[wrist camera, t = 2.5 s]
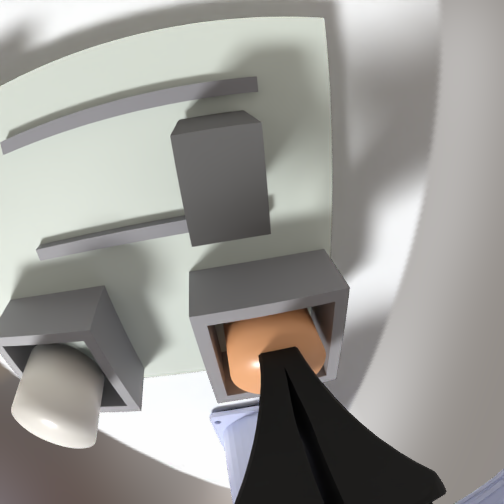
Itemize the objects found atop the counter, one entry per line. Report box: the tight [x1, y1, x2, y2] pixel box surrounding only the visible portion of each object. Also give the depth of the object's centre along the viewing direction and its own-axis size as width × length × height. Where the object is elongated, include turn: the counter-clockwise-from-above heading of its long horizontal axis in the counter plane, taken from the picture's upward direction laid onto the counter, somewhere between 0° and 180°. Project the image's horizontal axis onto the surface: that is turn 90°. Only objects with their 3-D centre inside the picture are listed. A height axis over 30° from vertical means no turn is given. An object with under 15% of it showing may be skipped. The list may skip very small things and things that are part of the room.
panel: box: [0, 17, 350, 412], centre depth 11 cm, size 15×18×5 cm
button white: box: [11, 343, 105, 448], centre depth 10 cm, size 4×4×3 cm
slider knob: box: [170, 110, 271, 247], centre depth 8 cm, size 3×2×3 cm
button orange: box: [223, 308, 326, 394], centre depth 12 cm, size 4×4×3 cm
